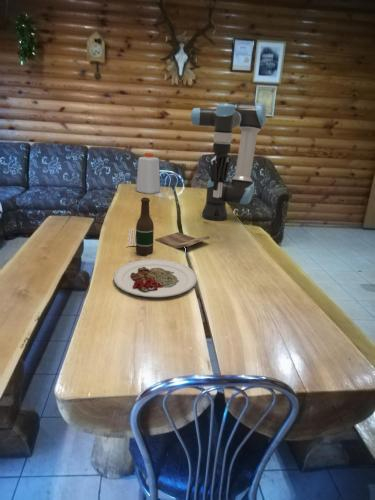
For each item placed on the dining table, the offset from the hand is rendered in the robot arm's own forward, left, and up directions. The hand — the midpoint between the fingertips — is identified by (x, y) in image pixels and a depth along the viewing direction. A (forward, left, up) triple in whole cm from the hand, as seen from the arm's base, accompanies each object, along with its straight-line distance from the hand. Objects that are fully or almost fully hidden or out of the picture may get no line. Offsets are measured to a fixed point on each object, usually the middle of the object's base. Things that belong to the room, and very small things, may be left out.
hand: (217, 196), depth 156 cm
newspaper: (+25, -28, -23) cm, 44 cm away
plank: (+12, -3, -21) cm, 24 cm away
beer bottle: (+33, -12, -23) cm, 42 cm away
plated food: (+47, +9, -23) cm, 53 cm away
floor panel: (+12, -13, -22) cm, 29 cm away
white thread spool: (-50, -99, -23) cm, 113 cm away
